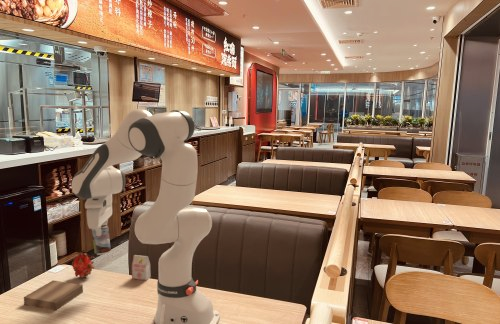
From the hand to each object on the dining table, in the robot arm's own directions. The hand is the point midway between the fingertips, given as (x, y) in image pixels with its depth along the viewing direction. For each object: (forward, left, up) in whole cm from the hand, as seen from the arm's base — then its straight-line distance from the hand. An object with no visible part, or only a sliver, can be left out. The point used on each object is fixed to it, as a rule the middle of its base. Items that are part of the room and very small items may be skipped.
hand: (101, 232), depth 146 cm
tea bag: (-10, -12, -23) cm, 28 cm away
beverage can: (-1, +1, -8) cm, 8 cm away
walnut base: (+12, +13, -24) cm, 29 cm away
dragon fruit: (+14, -5, -23) cm, 27 cm away
